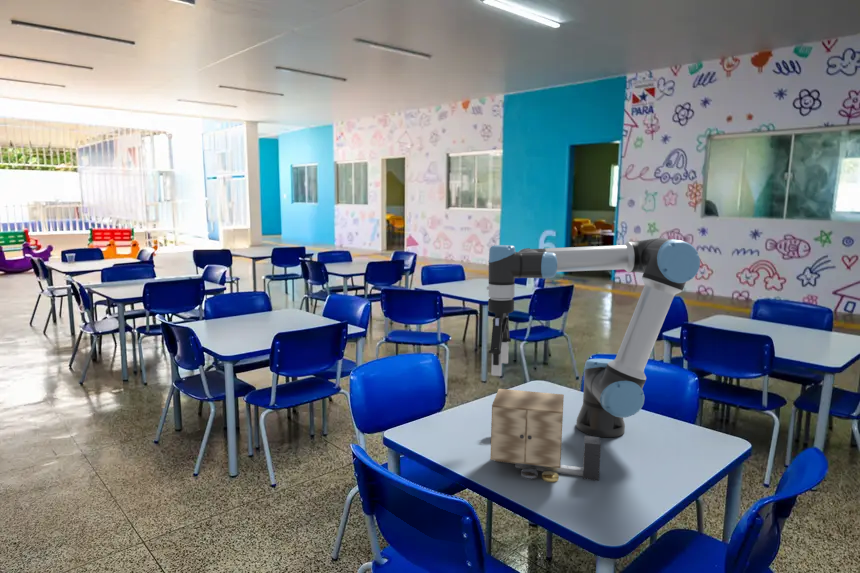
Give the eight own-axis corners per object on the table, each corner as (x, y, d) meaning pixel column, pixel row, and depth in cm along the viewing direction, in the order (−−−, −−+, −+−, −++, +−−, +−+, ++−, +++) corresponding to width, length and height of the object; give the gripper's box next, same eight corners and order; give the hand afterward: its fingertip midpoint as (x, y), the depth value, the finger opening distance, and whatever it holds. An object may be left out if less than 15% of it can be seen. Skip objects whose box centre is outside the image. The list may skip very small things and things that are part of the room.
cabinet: (560, 463, 157) (563, 394, 155) (559, 488, 143) (562, 413, 140) (496, 455, 162) (498, 388, 159) (489, 479, 147) (491, 406, 145)
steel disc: (537, 474, 151) (538, 469, 151) (536, 481, 147) (537, 477, 147) (521, 472, 152) (521, 467, 152) (520, 479, 148) (520, 475, 148)
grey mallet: (598, 472, 152) (600, 437, 151) (598, 480, 147) (600, 444, 146) (516, 462, 157) (517, 428, 156) (514, 470, 153) (516, 435, 151)
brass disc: (558, 476, 150) (558, 472, 150) (558, 484, 146) (558, 479, 146) (542, 474, 151) (542, 470, 151) (541, 482, 147) (541, 477, 147)
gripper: (495, 291, 176) (494, 357, 179) (480, 304, 152) (479, 380, 155) (519, 292, 174) (518, 359, 177) (507, 305, 150) (506, 382, 153)
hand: (500, 369), depth 166 cm, fingers open, 13 cm apart
